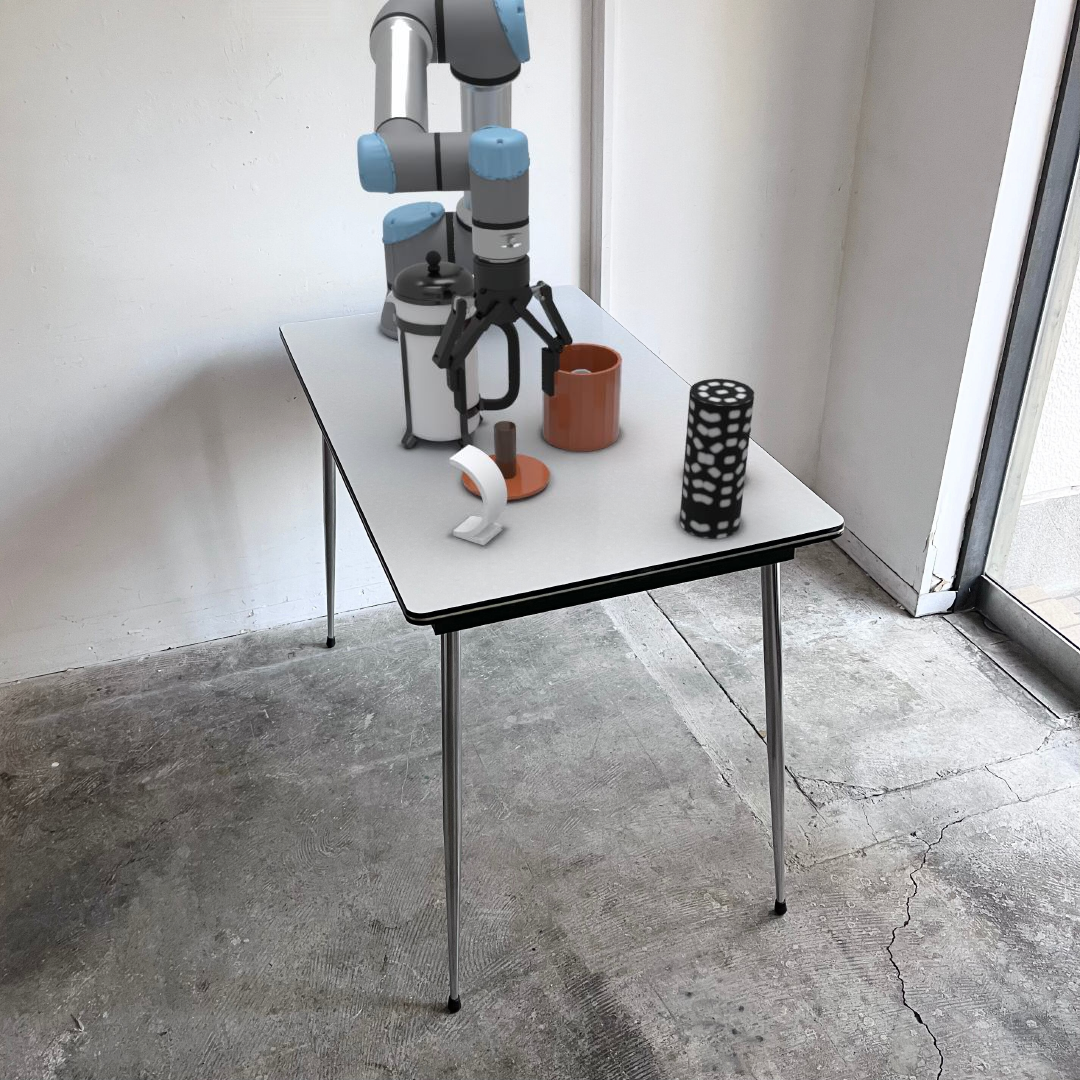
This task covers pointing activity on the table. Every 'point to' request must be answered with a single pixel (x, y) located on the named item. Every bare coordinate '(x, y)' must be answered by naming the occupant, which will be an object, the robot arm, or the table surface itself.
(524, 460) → the lid
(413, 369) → the coffee press
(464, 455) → the headphone stand
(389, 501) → the table surface
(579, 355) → the canister
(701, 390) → the white-spotted black cylinder
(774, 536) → the table surface
